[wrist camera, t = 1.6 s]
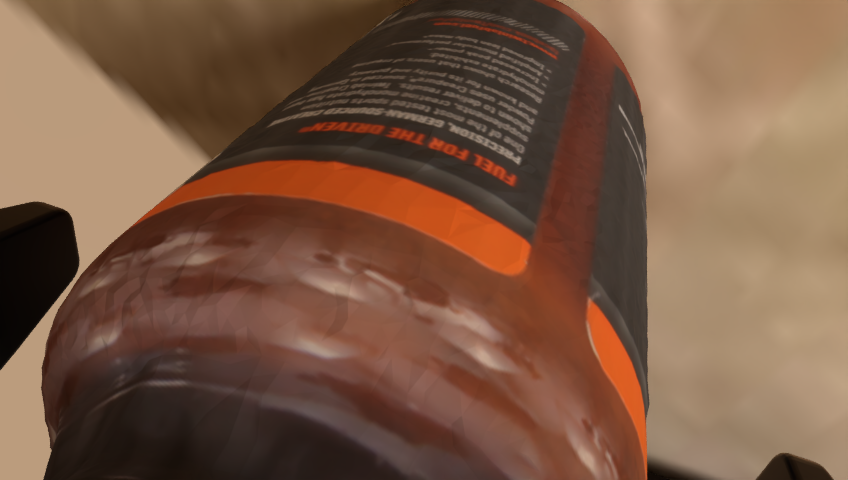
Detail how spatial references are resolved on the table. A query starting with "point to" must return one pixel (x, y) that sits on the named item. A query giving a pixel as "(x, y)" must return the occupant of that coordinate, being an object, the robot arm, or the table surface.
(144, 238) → the supplement bottle
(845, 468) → the table surface
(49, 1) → the table surface
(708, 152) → the table surface
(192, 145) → the table surface
